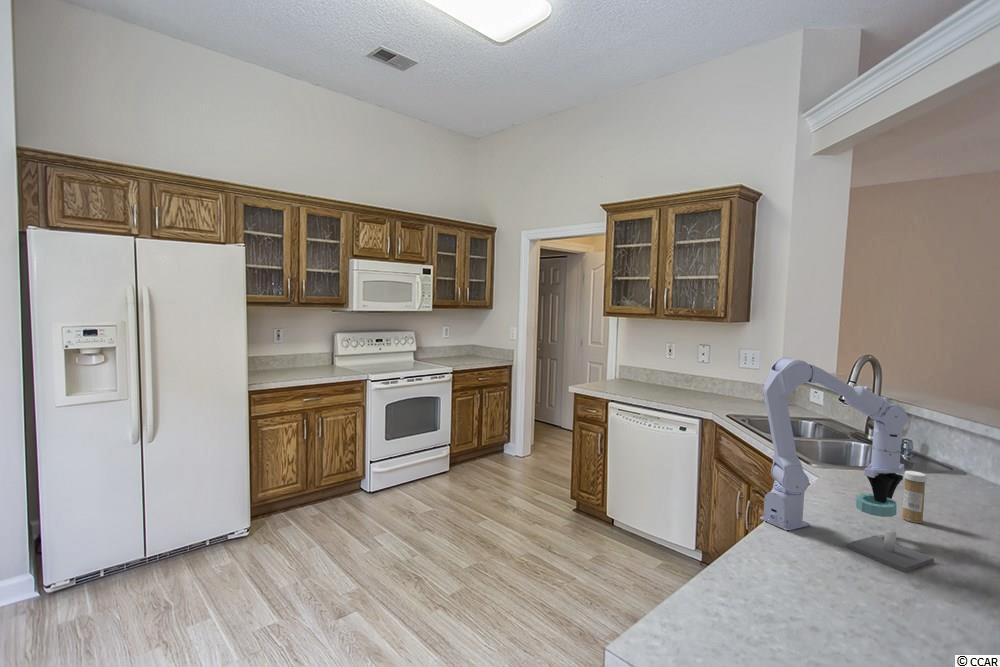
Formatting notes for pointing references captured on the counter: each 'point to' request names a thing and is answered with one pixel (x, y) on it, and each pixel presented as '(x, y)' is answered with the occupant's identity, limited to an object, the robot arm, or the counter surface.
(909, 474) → the sprinkles bottle
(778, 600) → the counter surface
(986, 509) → the counter surface
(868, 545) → the pin board
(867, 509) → the ring
